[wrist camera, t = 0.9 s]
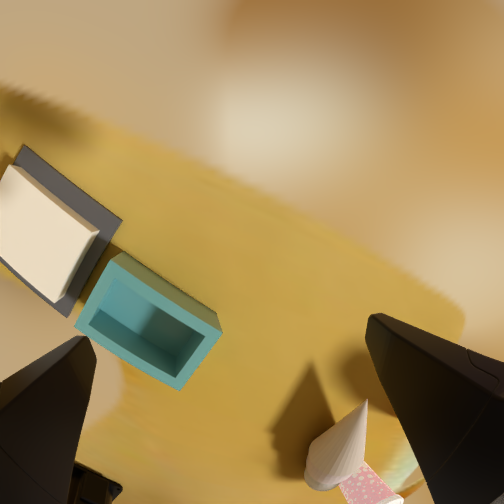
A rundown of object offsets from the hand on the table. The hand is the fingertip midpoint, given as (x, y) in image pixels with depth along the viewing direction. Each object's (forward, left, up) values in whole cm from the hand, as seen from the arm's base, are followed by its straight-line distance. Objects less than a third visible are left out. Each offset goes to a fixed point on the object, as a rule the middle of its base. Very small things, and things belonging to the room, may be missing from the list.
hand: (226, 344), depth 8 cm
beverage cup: (-13, -31, -14) cm, 36 cm away
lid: (-5, +12, -13) cm, 19 cm away
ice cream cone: (-8, -21, -14) cm, 26 cm away
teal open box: (-5, +1, -14) cm, 15 cm away
